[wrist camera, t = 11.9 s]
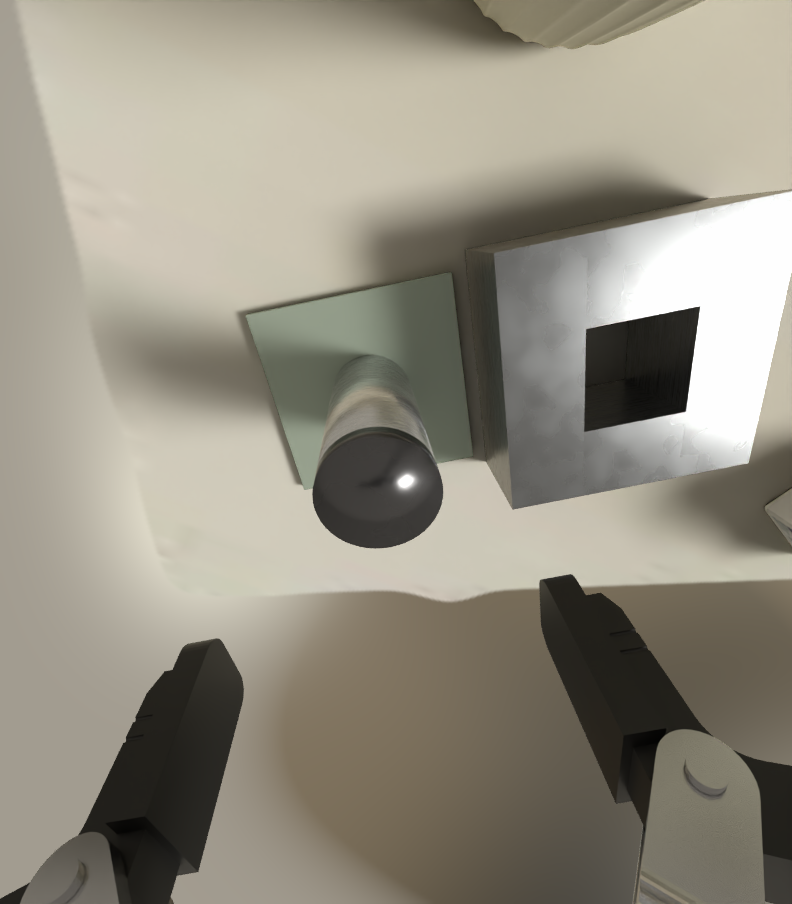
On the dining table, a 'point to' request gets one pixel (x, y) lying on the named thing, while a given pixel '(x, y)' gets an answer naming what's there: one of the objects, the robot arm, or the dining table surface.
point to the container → (782, 513)
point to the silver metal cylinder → (375, 459)
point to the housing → (629, 344)
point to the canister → (578, 18)
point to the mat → (358, 334)
